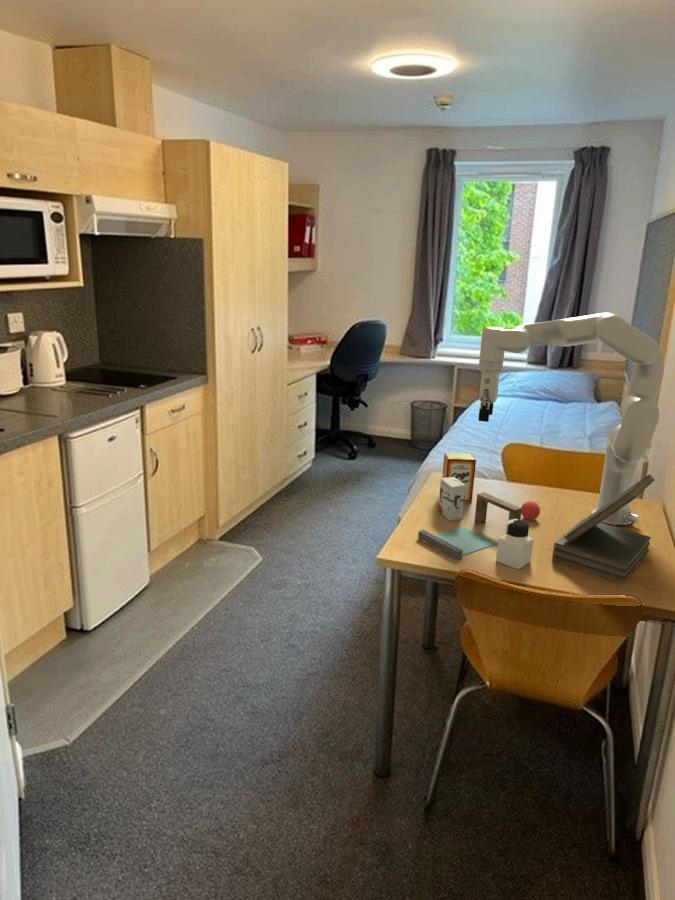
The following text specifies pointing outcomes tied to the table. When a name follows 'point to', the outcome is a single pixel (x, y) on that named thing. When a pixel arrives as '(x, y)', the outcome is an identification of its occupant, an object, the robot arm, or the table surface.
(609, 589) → the table surface
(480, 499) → the bridge
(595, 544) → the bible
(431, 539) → the stopper wall
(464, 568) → the table surface
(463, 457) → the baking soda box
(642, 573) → the table surface
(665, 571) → the table surface
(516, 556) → the medicine bottle
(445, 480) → the ink box
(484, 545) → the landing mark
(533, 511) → the ball
